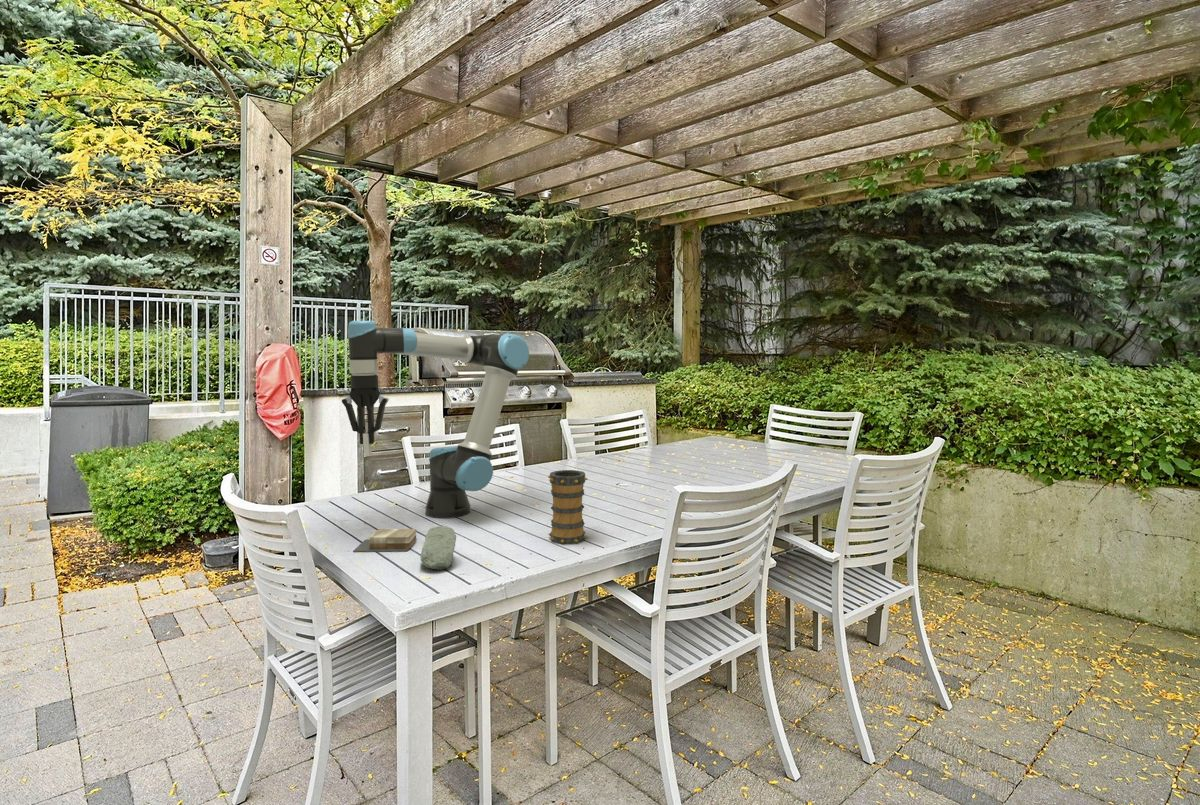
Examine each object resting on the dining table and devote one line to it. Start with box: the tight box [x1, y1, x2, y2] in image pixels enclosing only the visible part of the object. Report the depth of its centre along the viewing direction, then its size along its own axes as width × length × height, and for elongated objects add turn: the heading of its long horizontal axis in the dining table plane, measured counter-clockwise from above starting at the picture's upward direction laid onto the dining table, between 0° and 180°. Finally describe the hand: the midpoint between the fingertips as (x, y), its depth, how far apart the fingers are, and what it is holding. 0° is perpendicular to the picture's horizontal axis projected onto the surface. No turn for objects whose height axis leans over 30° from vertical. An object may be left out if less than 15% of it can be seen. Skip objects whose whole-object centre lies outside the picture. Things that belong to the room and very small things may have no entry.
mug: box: [547, 469, 589, 545], centre depth 189 cm, size 13×17×20 cm
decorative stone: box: [420, 524, 457, 570], centre depth 166 cm, size 13×11×10 cm
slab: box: [368, 528, 417, 550], centre depth 180 cm, size 4×8×11 cm
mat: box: [352, 539, 417, 553], centre depth 180 cm, size 15×10×1 cm, turn 92°
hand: (367, 454), depth 183 cm, fingers closed
